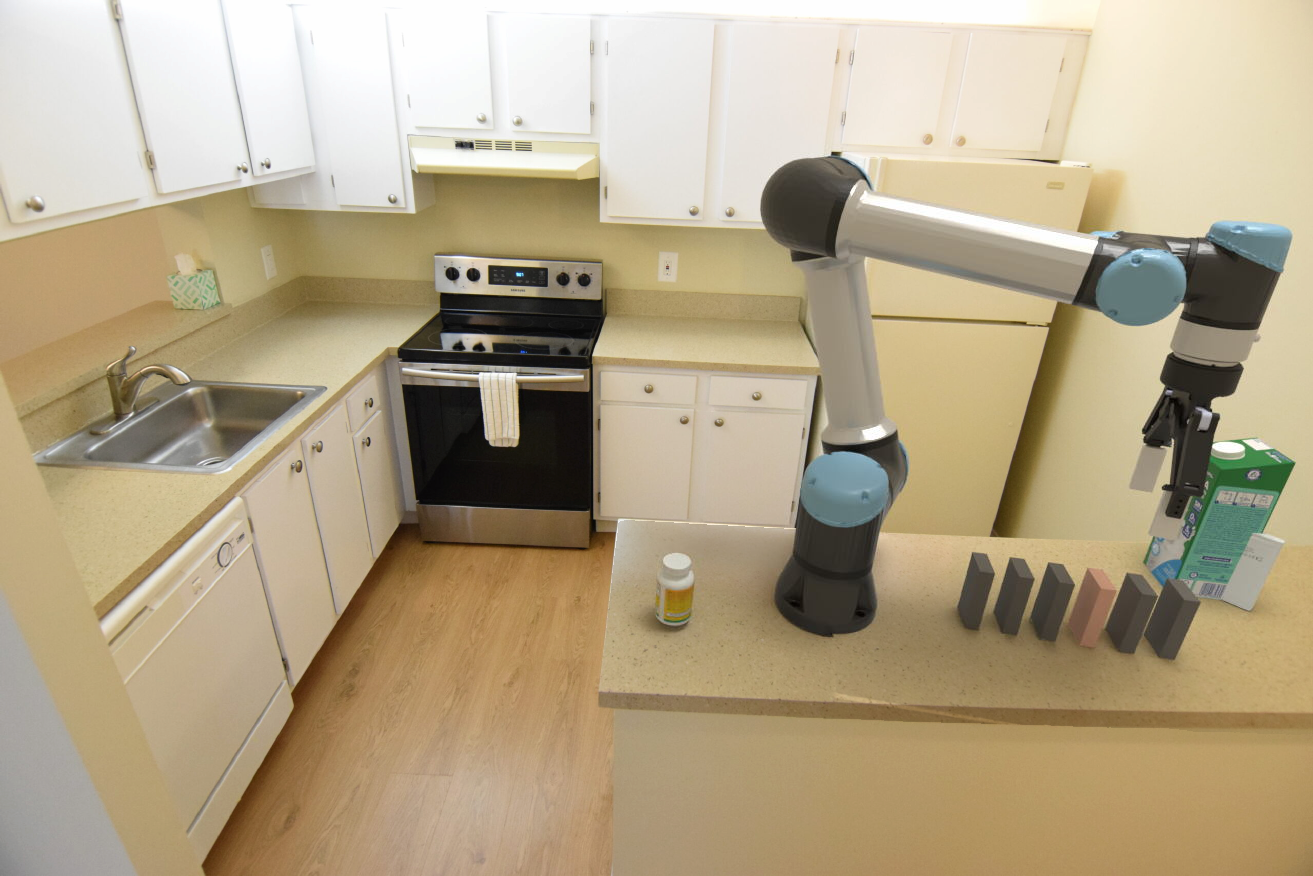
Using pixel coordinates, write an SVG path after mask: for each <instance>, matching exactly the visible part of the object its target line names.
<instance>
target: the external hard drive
mask: <svg viewBox="0 0 1313 876" xmlns="http://www.w3.org/2000/svg"><path fill="white" fill-rule="evenodd" d="M1285 543H1286V540H1284V539H1283V538H1280V537H1277V536H1274V535H1272V534H1269V533H1267V532H1266V533H1265V532H1263V533H1262V534H1261V533H1252V536H1251V537H1250V539H1249V541H1248V544H1247V546H1246V548H1245V550H1244V552H1243V554H1242V556H1241V558H1240V560H1239V562H1238V564H1237V566H1236V568H1235V570H1234V572H1233V574H1232V576H1231V578H1230V580H1229V582H1228V584H1227V586H1226V588H1225V590H1224V592H1223V594H1222V596H1221V598H1220V599H1221V600H1220V601H1223V602H1225V603H1228V604H1231V605H1233V606H1235V607H1238V608H1240V609H1243V610H1245V611H1248V612H1250V611H1252V609H1253V608H1254V605H1255V604H1256V602H1257V599H1258V598H1259V595H1260V593H1261V591H1262V589H1263V588H1264V585H1265V583H1266V581H1267V579H1268V577H1269V575H1270V573H1271V572H1272V571H1271V570H1273V567H1274V564H1275V563H1276V561H1277V559H1278V557H1279V555H1280V553H1281V550H1282V549H1283V546H1284V545H1285Z"/></svg>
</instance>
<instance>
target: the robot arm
mask: <svg viewBox="0 0 1313 876" xmlns="http://www.w3.org/2000/svg"><path fill="white" fill-rule="evenodd" d="M759 208H760V209H759V211H760V212H759V213H760V218H761V222H762V224H763V226H764V229H765V231H766V232H767V233H768V235H769V236H770V237H771V238H772V239H773V241H775V242H776V243H777V244H779V245H780V246H782V247H785V248H786V249H789V252H790V258H791V259H790V260H791V263H792V265H793V266H795V267H796V268H798V269H799V270H801V271H802V272H803V274H804V278H805V285H806V291H807V297H808V305H809V310H810V317H811V322H812V329H813V336H814V340H815V341H814V342H815V346H816V347H815V348H816V353H817V360H818V365H819V372H820V377H821V378H820V379H821V385H822V390H823V396H824V397H823V398H824V402H825V403H824V404H825V409H826V414H827V426H825V428H824V429H823V431H822V432H821V433H820V440H821V441H820V442H821V446H822V453H823V454H821V455H819V456H818V457H816V458H814V459H813V460H812V461H811V462H810V463H809V464H808V465H807V467H806V469H805V471H804V473H803V477H802V480H801V482H800V490H799V494H800V499H799V504H798V511H797V517H796V526H795V531H794V532H795V533H794V540H793V548H792V554H791V555H790V556H789V559H788V560H787V562H786V564H785V566H784V567H783V569H782V571H781V573H780V575H779V576H778V578H777V581H776V584H775V592H774V602H775V606H776V607H777V609H778V611H779V612H780V613H781V615H782V616H783V617H784V618H785V619H786V620H788V622H790V623H791V624H794V625H795V626H796V627H799V628H800V629H801V630H805V631H807V632H809V633H812V634H816V635H819V636H820V635H821V636H825V637H826V636H827V637H834V635H847V634H853V633H856V632H859V631H862V630H864V629H866V628H868V627H869V626H870V625H871V624H872V622H874V619H875V617H876V614H877V610H878V598H877V592H876V587H875V579H874V575H873V565H874V560H875V555H876V551H877V546H878V543H879V542H878V541H879V537H880V532H881V529H882V527H883V526H882V525H883V523H884V521H885V520H886V518H887V516H888V514H889V512H890V510H891V508H892V506H893V505H894V504H895V502H896V499H897V498H898V496H899V494H900V493H901V492H902V490H903V489H904V488H905V486H906V484H907V483H906V482H907V481H908V476H909V470H910V458H909V454H908V451H907V449H906V446H905V445H904V444H903V441H901V439H899V433H898V431H899V430H898V426H897V423H896V422H895V421H893V420H892V419H891V418H889V417H888V416H886V412H885V406H884V397H883V391H882V383H881V377H880V376H881V375H880V369H879V368H880V367H879V361H878V355H877V348H876V347H877V346H876V339H875V331H874V325H873V319H872V310H871V303H870V296H869V288H868V282H867V274H866V265H865V259H866V258H871V259H875V260H879V261H884V262H888V263H890V264H891V263H892V264H897V265H899V266H905V267H908V268H912V269H913V268H914V269H917V270H922V271H924V272H925V271H926V272H930V273H935V274H939V275H943V276H948V277H952V278H956V279H959V280H960V279H961V280H964V281H968V282H973V283H977V284H982V285H987V286H990V287H994V288H998V289H1003V290H1007V291H1011V292H1012V291H1013V292H1017V293H1021V294H1025V295H1028V296H1029V295H1030V296H1033V297H1038V298H1042V299H1047V300H1051V301H1055V302H1059V303H1064V304H1067V305H1071V306H1075V307H1078V308H1081V309H1086V310H1090V311H1094V312H1099V313H1102V314H1103V315H1104V316H1106V317H1107V318H1109V319H1110V320H1112V321H1113V322H1115V323H1117V324H1120V325H1124V326H1127V327H1128V326H1129V327H1143V326H1149V325H1152V324H1155V323H1158V322H1160V321H1162V320H1164V319H1165V318H1167V317H1169V316H1170V315H1171V314H1173V312H1175V310H1176V309H1177V308H1178V307H1179V306H1180V304H1184V305H1183V309H1182V311H1181V314H1180V315H1179V318H1178V321H1177V324H1176V327H1175V330H1174V331H1173V332H1174V333H1173V335H1172V339H1171V341H1170V344H1169V348H1170V350H1172V352H1170V353H1168V354H1166V355H1167V356H1166V358H1165V361H1164V364H1163V367H1162V369H1161V373H1160V375H1159V380H1160V382H1161V384H1163V385H1164V387H1163V390H1162V393H1161V394H1160V396H1159V398H1158V399H1157V402H1156V404H1155V405H1154V407H1153V409H1152V410H1151V413H1150V415H1148V416H1149V417H1148V418H1147V419H1146V422H1145V424H1144V425H1143V427H1142V429H1141V434H1142V435H1144V436H1143V438H1142V442H1143V444H1142V446H1141V450H1140V453H1139V456H1138V459H1137V461H1136V464H1135V467H1134V470H1133V473H1132V475H1131V478H1130V482H1129V484H1128V488H1129V489H1130V490H1135V491H1140V492H1146V493H1151V494H1152V493H1153V491H1154V489H1155V486H1156V484H1157V481H1158V478H1159V474H1160V471H1161V469H1162V466H1163V463H1164V462H1165V461H1164V460H1165V458H1166V456H1167V453H1168V449H1167V448H1172V447H1173V448H1172V449H1173V450H1172V455H1171V456H1172V457H1171V467H1170V476H1169V477H1170V478H1169V483H1165V484H1163V485H1162V486H1161V490H1162V491H1163V492H1162V494H1161V497H1160V499H1159V503H1158V506H1157V508H1156V511H1155V513H1154V516H1153V518H1152V522H1151V524H1150V527H1149V530H1148V534H1149V536H1151V537H1153V536H1155V537H1160V538H1165V539H1170V540H1176V538H1177V535H1178V533H1179V530H1180V528H1181V525H1182V522H1183V520H1184V517H1185V515H1186V512H1187V509H1188V507H1189V504H1190V502H1191V499H1192V496H1195V497H1202V496H1203V494H1204V487H1205V481H1206V476H1207V471H1208V466H1209V461H1210V455H1211V450H1212V445H1213V442H1214V439H1215V435H1216V430H1217V427H1218V424H1219V422H1220V420H1221V414H1220V413H1218V412H1213V408H1211V406H1212V401H1213V400H1214V399H1216V398H1225V397H1229V396H1232V395H1234V394H1235V392H1236V391H1237V388H1238V386H1239V383H1240V380H1241V377H1242V375H1243V373H1244V370H1245V368H1244V366H1243V364H1242V362H1245V361H1247V360H1248V357H1249V356H1250V353H1251V350H1252V347H1253V344H1254V343H1259V341H1260V340H1261V339H1262V337H1261V335H1260V334H1259V333H1258V332H1259V329H1260V326H1261V324H1262V321H1263V319H1264V316H1265V314H1266V311H1267V309H1268V306H1269V304H1270V301H1271V298H1272V296H1273V295H1274V291H1275V289H1276V287H1277V284H1278V282H1279V279H1280V276H1281V274H1283V272H1284V270H1285V269H1284V266H1285V264H1286V260H1287V257H1288V253H1289V251H1290V247H1291V244H1292V240H1293V233H1292V231H1291V229H1290V228H1288V227H1287V226H1284V225H1281V224H1276V223H1267V222H1260V221H1259V222H1257V221H1244V220H1238V221H1236V220H1219V221H1216V222H1214V223H1212V224H1211V226H1210V228H1209V230H1208V232H1206V234H1205V235H1204V237H1203V236H1202V237H1201V236H1200V237H1199V236H1196V237H1192V236H1191V237H1183V236H1171V235H1161V234H1150V233H1149V234H1148V233H1137V232H1124V230H1116V231H1107V230H1106V231H1101V230H1096V231H1092V232H1090V233H1086V232H1085V233H1084V232H1080V231H1079V232H1078V231H1074V230H1070V229H1064V228H1060V227H1054V226H1050V225H1043V224H1039V223H1034V222H1029V221H1025V220H1020V219H1014V218H1009V217H1004V216H999V215H994V214H990V213H984V212H979V211H974V210H969V209H965V208H960V207H959V208H958V207H954V206H949V205H945V204H940V203H939V204H938V203H935V202H929V201H924V200H919V199H916V198H915V199H914V198H908V197H903V196H899V195H894V194H888V193H884V192H879V191H875V190H874V186H873V182H872V180H871V178H870V177H869V175H868V174H867V171H866V170H864V168H862V166H860V165H859V164H857V163H855V162H854V161H852V160H850V159H848V158H846V157H841V156H839V155H828V156H819V157H806V158H805V157H804V158H803V157H802V158H798V159H794V160H791V161H789V162H787V163H784V164H783V165H782V166H780V167H779V168H778V169H776V171H774V172H773V174H772V175H771V176H770V178H769V179H768V180H767V182H766V183H765V185H764V187H763V190H762V193H761V197H760V205H759ZM1165 447H1167V448H1165ZM1185 483H1189V484H1185Z"/></svg>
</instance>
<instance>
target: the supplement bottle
mask: <svg viewBox="0 0 1313 876" xmlns="http://www.w3.org/2000/svg"><path fill="white" fill-rule="evenodd" d="M691 569H692V561H691V558H690V557H689V556H688V555H686V554H684V553H682V552H672V553H669V554H666V555H665V556H664V557H663V559H662V566H661V568H660V569H659V570H658V572H657V574H656V583H655V584H656V589H655V601H654V602H655V604H654V605H655V606H654V613H655V614H654V615H655V617H656V618H657V620H658V621H659V622H661V624H665V625H668V626H672V627H673V626H674V627H675V626H682V625H684V624H686V623H687V622H689V621H690V619H691V617H692V613H693V611H692V610H693V600H694V588H695V575H694V572H693V571H692V570H691Z"/></svg>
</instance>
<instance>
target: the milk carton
mask: <svg viewBox="0 0 1313 876" xmlns="http://www.w3.org/2000/svg"><path fill="white" fill-rule="evenodd" d="M1295 465H1296V461H1293V459H1291V458H1290V457H1288V456H1286V455H1285V454H1283V453H1282V452H1280V450H1279V451H1278V450H1277V449H1276V448H1274V447H1272V446H1271V445H1269V444H1268V443H1267V442H1265V441H1263V440H1262V439H1260V438H1259V437H1251V438H1250V437H1249V438H1248V437H1247V438H1239V439H1230V440H1229V439H1228V440H1220V441H1213V445H1212V450H1211V455H1210V461H1209V466H1208V471H1207V476H1206V481H1205V487H1204V494H1203V496H1202V497H1195V496H1192V499H1191V502H1190V504H1189V507H1188V509H1187V512H1186V515H1185V517H1184V520H1183V522H1182V525H1181V528H1180V530H1179V533H1178V535H1177V538H1176V540H1170V539H1165V538H1160V537H1155V536H1152V539H1151V541H1150V544H1149V546H1148V549H1147V551H1146V554H1145V557H1144V559H1143V561H1142V563H1143V565H1145V567H1146V568H1147V569H1148V570H1149V572H1150V573H1151V574H1152V576H1154V578H1155V580H1157V582H1158V583H1159V584H1160V585H1161V586H1162V588H1163V587H1164V584H1165V582H1166V579H1167V578H1169V579H1177V580H1183V581H1184V582H1185V584H1186V585H1187V586H1188V587H1189V588H1190V590H1191V591H1192V592H1193V593H1194V594H1195V596H1196V597H1197V598H1198V599H1209V600H1219V601H1222V600H1221V599H1220V598H1221V596H1222V594H1223V592H1224V590H1225V588H1226V586H1227V584H1228V582H1229V580H1230V578H1231V576H1232V574H1233V572H1234V570H1235V568H1236V566H1237V564H1238V562H1239V560H1240V558H1241V556H1242V554H1243V552H1244V550H1245V548H1246V546H1247V544H1248V541H1249V539H1250V537H1251V536H1252V533H1261V534H1262V533H1264V532H1265V531H1264V530H1265V529H1266V526H1267V525H1268V523H1269V520H1270V519H1271V516H1272V515H1273V512H1274V510H1275V508H1276V505H1277V503H1278V501H1279V499H1280V497H1281V495H1282V493H1283V491H1284V489H1285V486H1286V485H1287V483H1288V481H1289V478H1290V476H1291V474H1292V472H1293V471H1294V470H1293V469H1294V468H1295ZM1185 484H1189V483H1185Z"/></svg>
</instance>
